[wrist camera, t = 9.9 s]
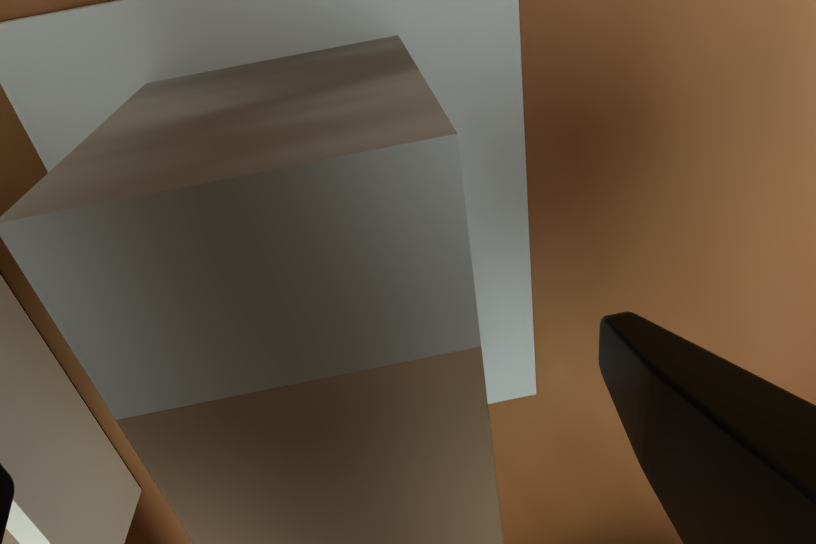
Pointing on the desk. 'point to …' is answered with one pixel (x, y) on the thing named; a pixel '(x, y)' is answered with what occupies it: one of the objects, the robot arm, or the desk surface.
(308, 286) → the box
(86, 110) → the mat
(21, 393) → the white shallow rectangular tray
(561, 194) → the desk surface
